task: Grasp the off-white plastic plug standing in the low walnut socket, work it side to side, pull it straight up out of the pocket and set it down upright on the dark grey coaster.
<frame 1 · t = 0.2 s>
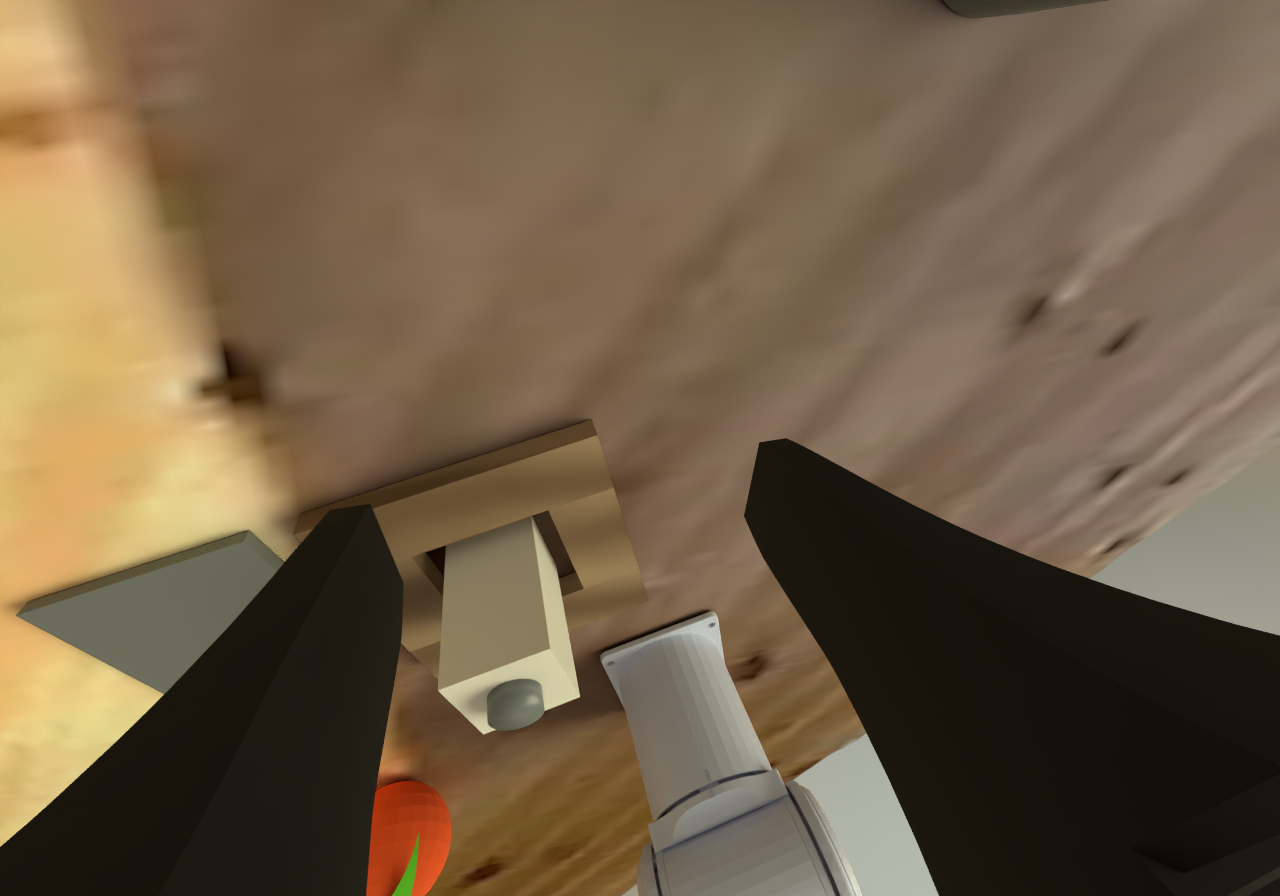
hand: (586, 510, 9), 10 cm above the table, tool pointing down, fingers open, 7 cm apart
holder: (504, 555, 23), on the table
clementine: (403, 778, 33), on the table
plug: (509, 622, 20), in the holder
coaster: (219, 620, 20), on the table
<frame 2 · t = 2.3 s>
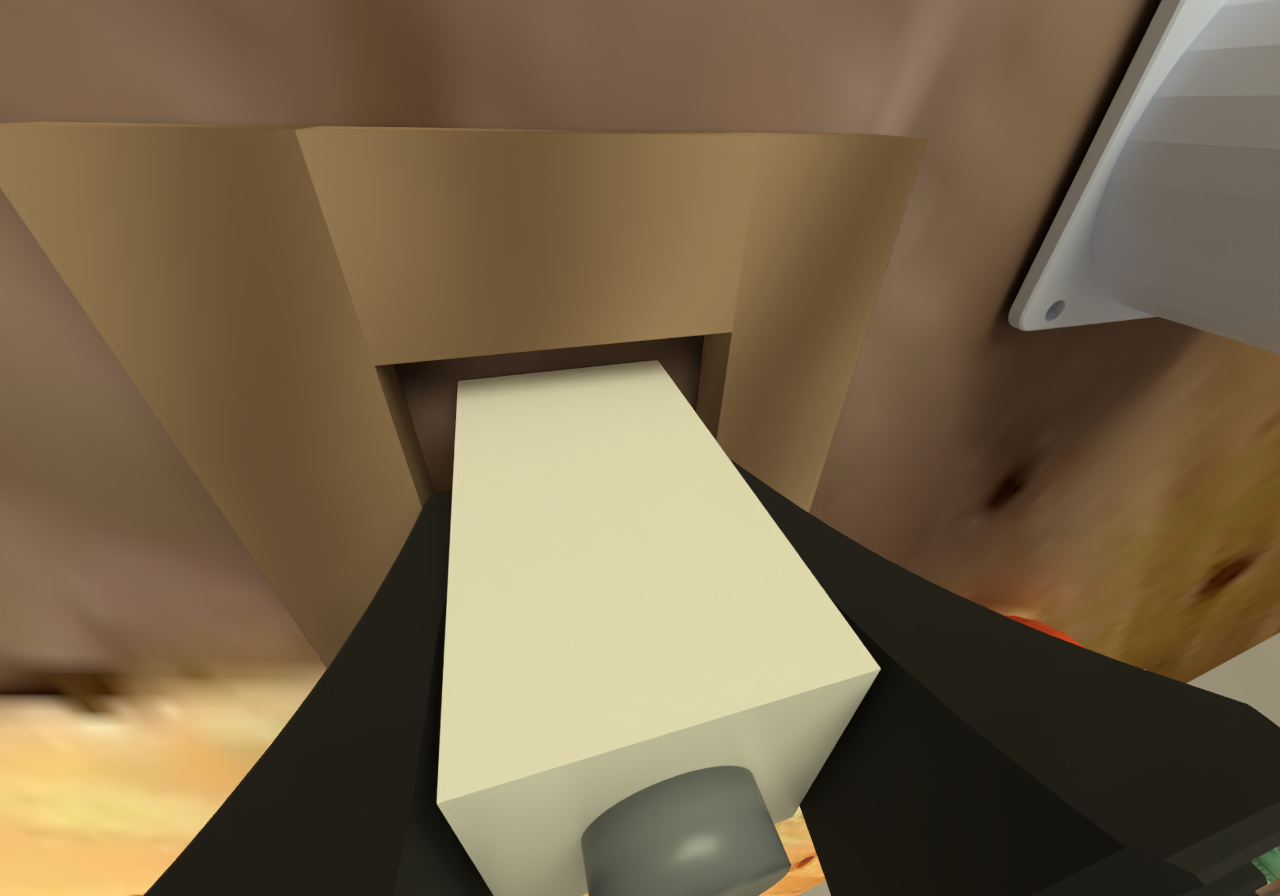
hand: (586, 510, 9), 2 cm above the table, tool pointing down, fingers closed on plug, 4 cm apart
holder: (569, 450, 11), on the table
clementine: (950, 624, 23), on the table
plug: (607, 588, 8), in the holder, touching gripper
spray can: (1114, 684, 42), on the table
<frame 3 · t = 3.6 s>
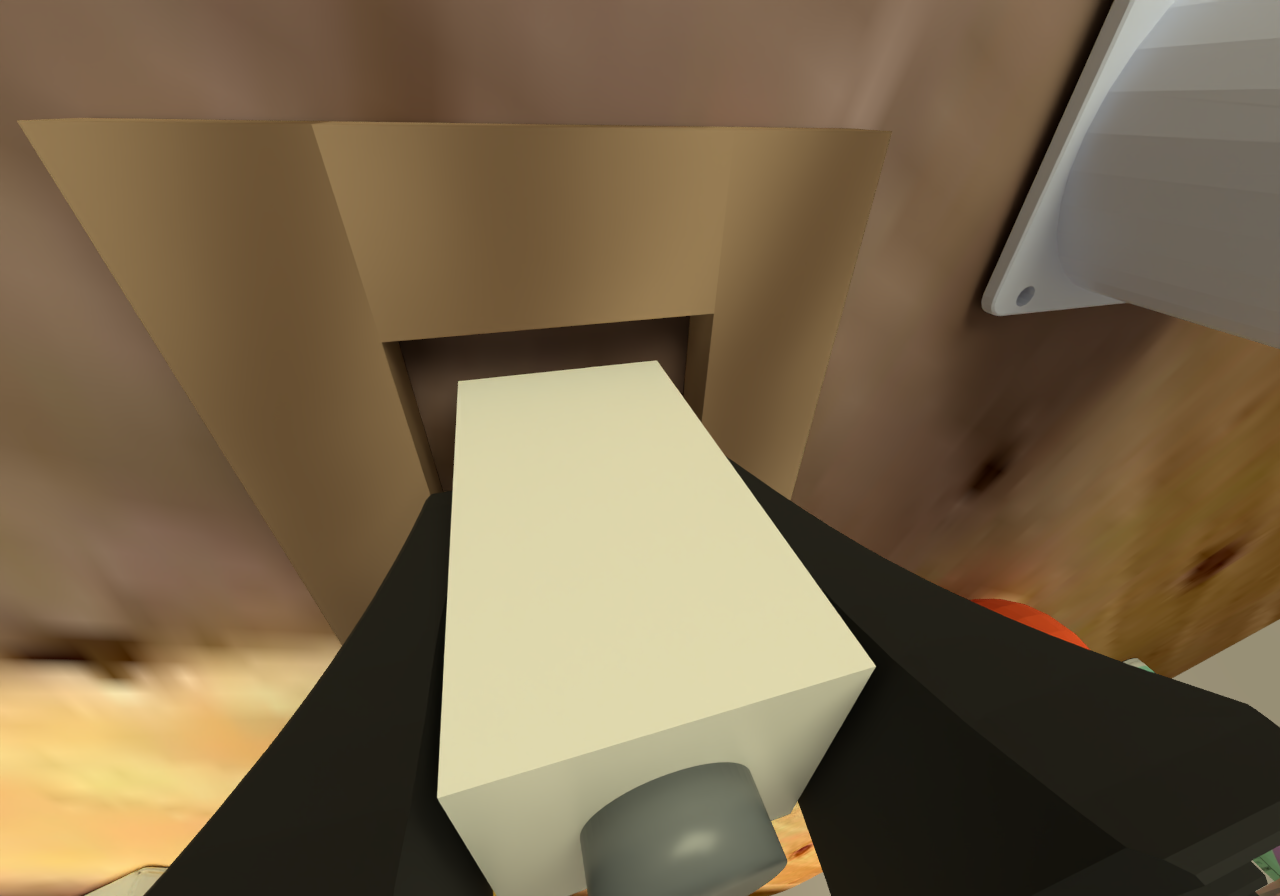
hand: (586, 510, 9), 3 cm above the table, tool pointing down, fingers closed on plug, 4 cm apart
holder: (563, 429, 11), on the table
clementine: (939, 608, 24), on the table
plug: (607, 587, 8), point 5 cm above the table, touching gripper
spray can: (1106, 674, 42), on the table
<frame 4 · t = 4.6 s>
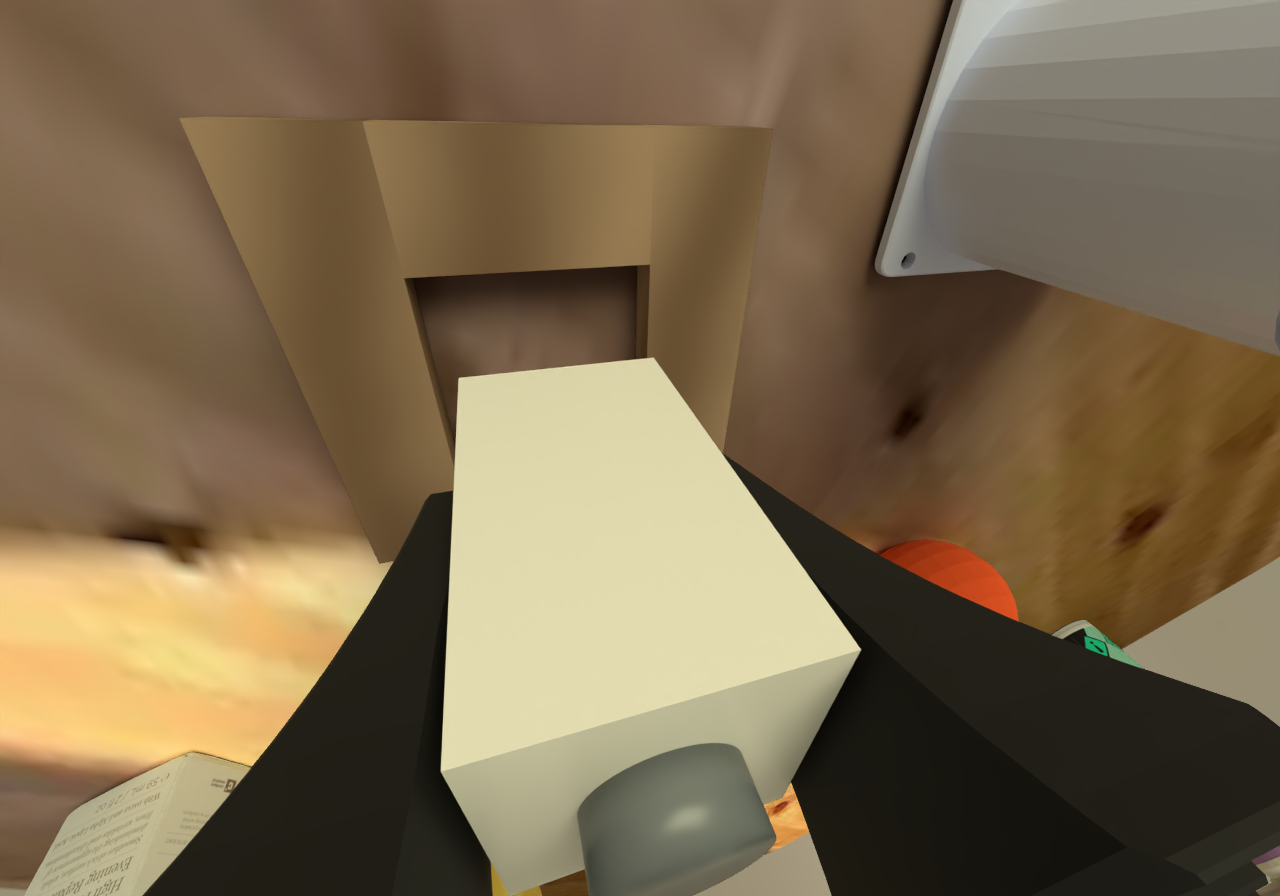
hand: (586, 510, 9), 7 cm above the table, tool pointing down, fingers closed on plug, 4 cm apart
holder: (541, 361, 14), on the table
clementine: (882, 551, 27), on the table
plug: (604, 578, 8), point 8 cm above the table, touching gripper
plant pot: (461, 804, 30), on the table
spray can: (1058, 636, 45), on the table
skincare box: (180, 786, 21), on the table
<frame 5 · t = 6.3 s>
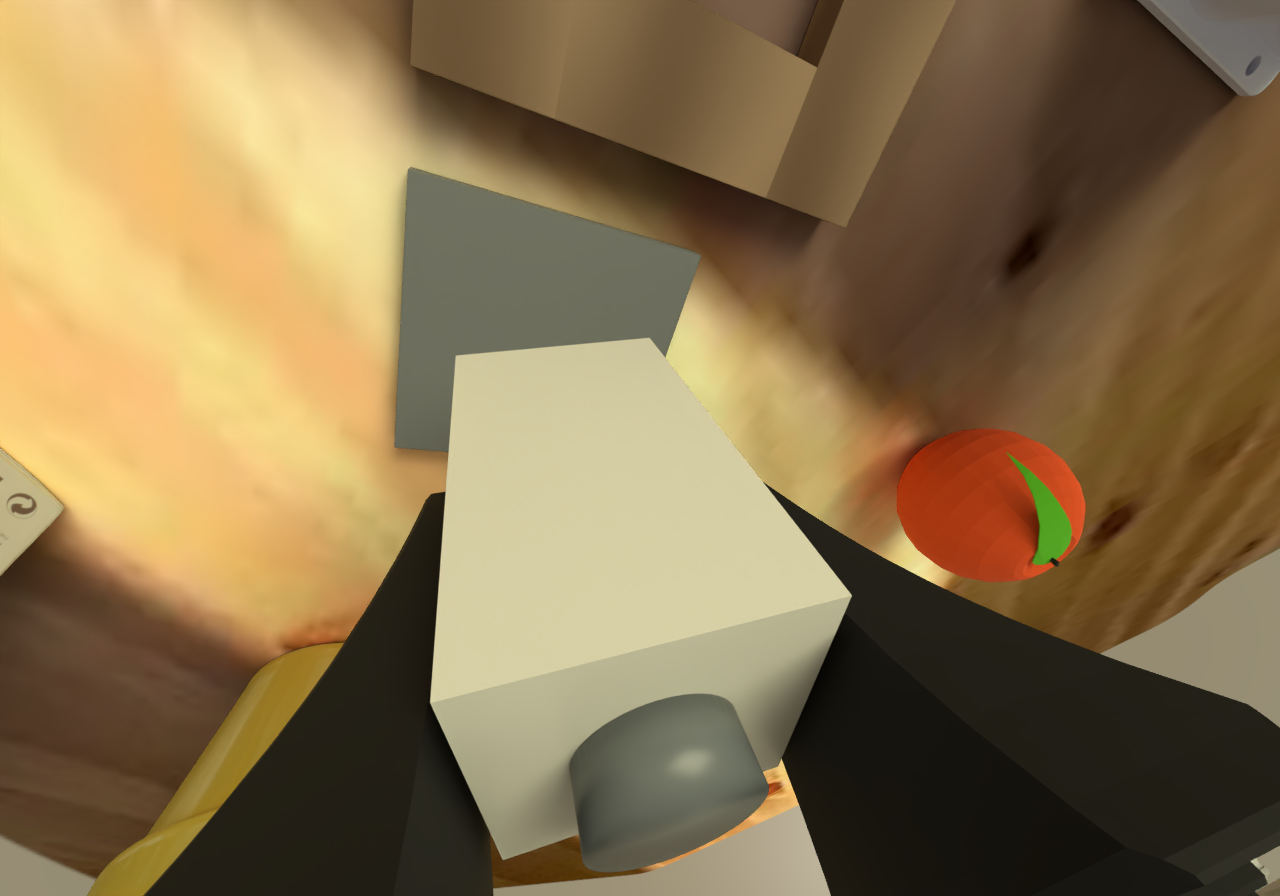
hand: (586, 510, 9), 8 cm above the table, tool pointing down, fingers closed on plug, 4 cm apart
clementine: (922, 450, 24), on the table
plug: (599, 549, 8), point 9 cm above the table, touching gripper
plant pot: (336, 680, 22), on the table
coaster: (541, 346, 15), on the table
when the fingers open (4 cm above the table, at t = 7.4 s): plug stays where it is, resting on coaster.
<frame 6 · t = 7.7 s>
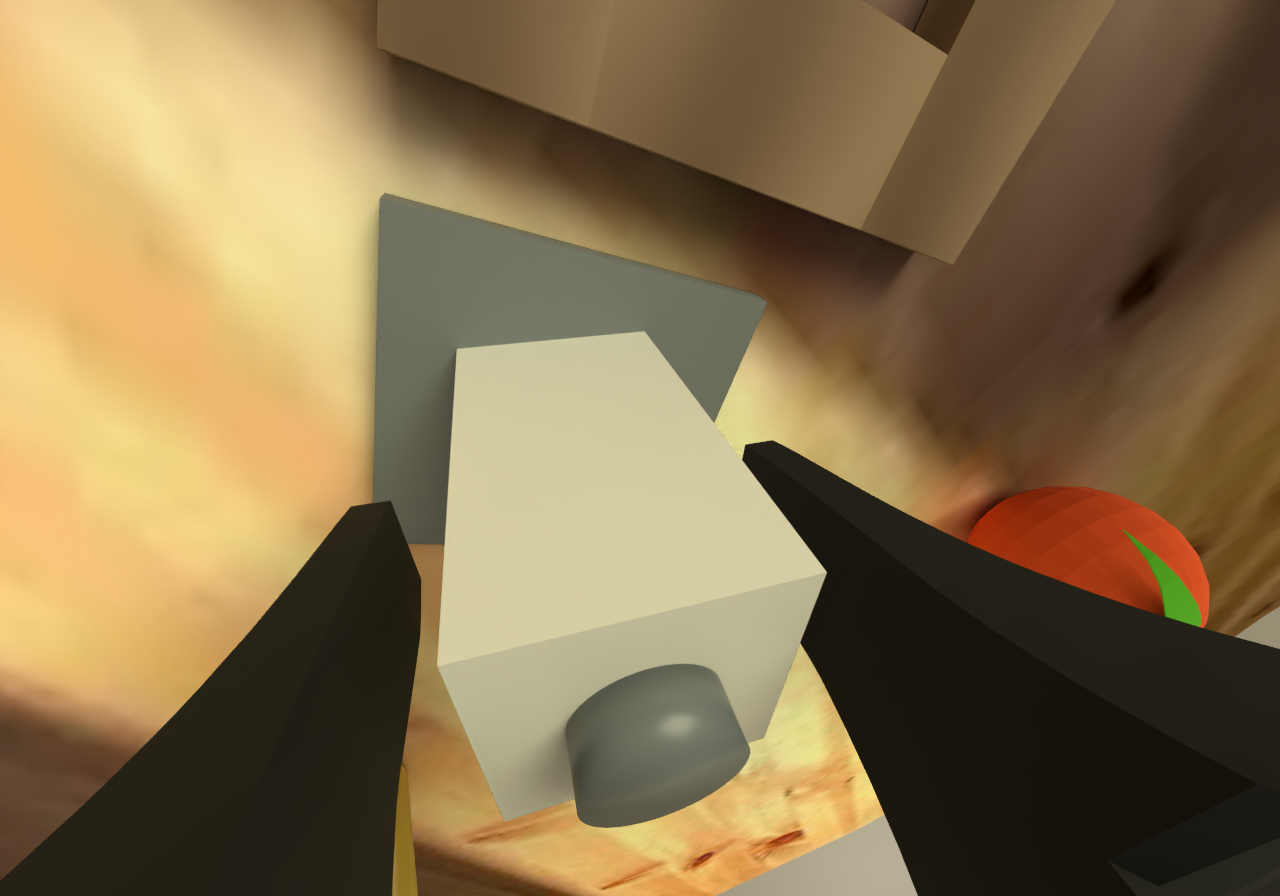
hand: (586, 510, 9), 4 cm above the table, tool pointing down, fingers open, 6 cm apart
clementine: (991, 505, 21), on the table
plug: (595, 534, 8), on the coaster, point 4 cm above the table
plant pot: (311, 783, 19), on the table
coaster: (559, 414, 12), on the table
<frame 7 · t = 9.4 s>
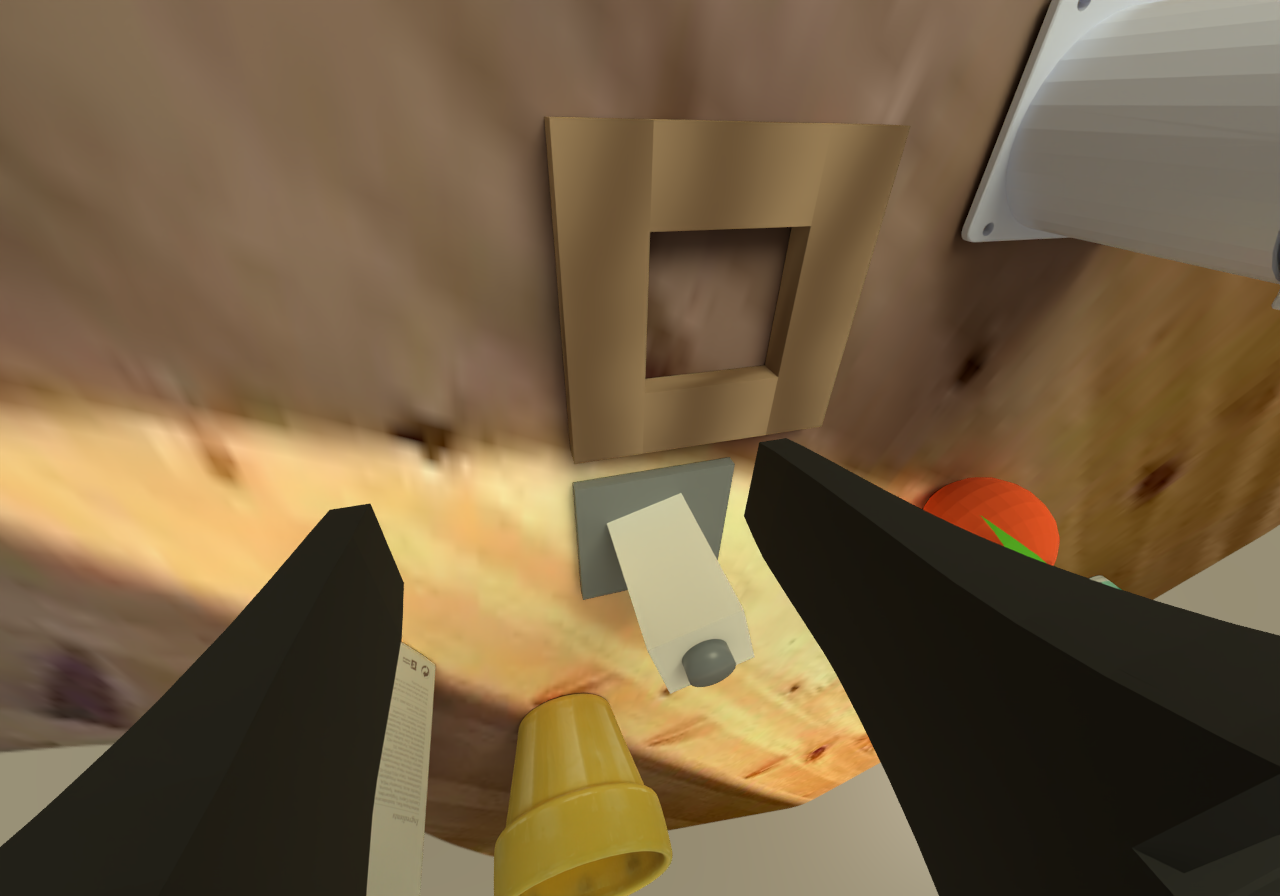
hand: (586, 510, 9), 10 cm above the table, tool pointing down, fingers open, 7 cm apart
holder: (710, 304, 19), on the table
clementine: (935, 491, 31), on the table
plug: (679, 593, 22), on the coaster, point 4 cm above the table
plant pot: (563, 715, 35), on the table
coaster: (651, 527, 25), on the table
skincare box: (365, 669, 26), on the table
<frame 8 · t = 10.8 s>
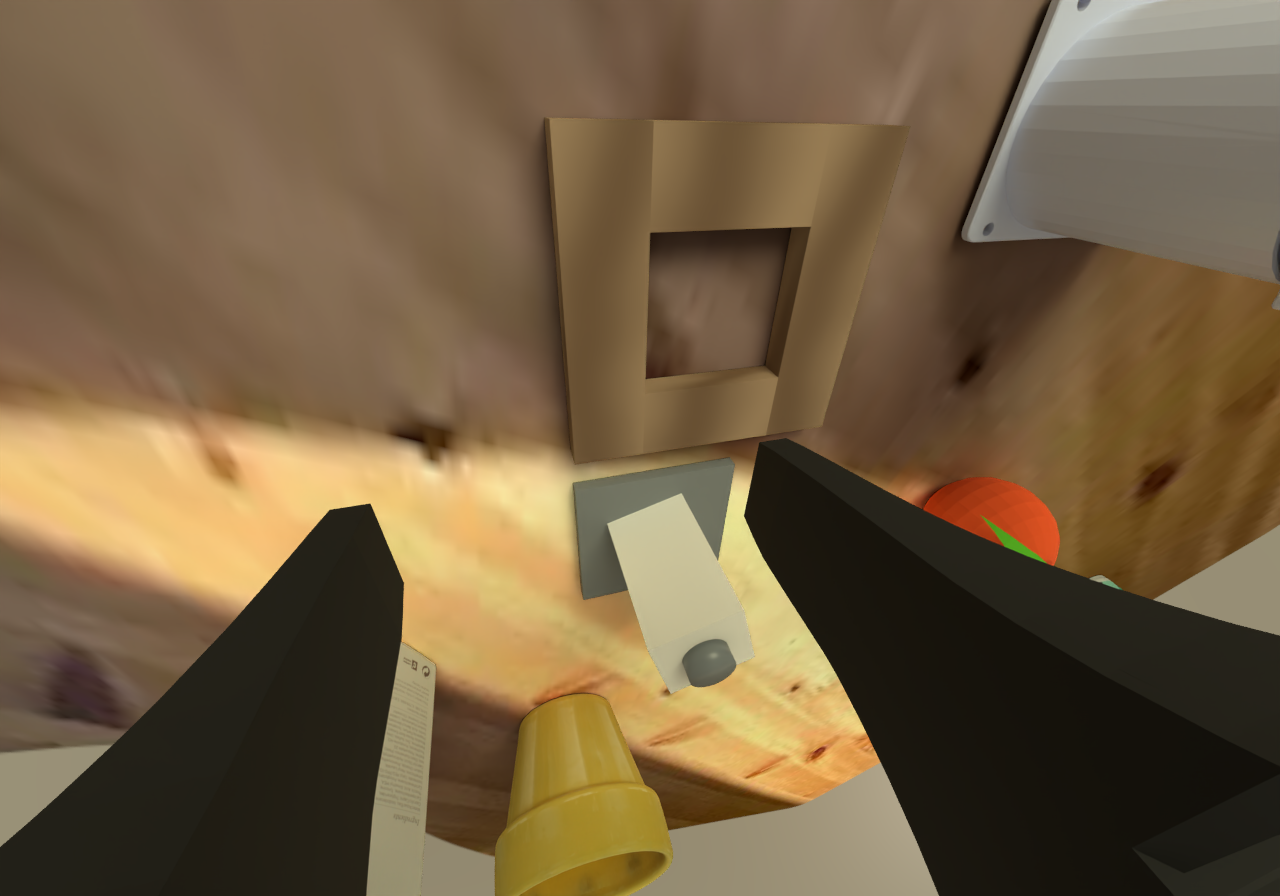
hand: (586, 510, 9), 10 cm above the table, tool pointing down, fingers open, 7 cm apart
holder: (710, 304, 19), on the table
clementine: (935, 491, 31), on the table
plug: (679, 593, 22), on the coaster, point 4 cm above the table
plant pot: (563, 715, 35), on the table
coaster: (651, 528, 25), on the table
skincare box: (366, 669, 26), on the table
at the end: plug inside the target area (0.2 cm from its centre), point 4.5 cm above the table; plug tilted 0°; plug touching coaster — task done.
